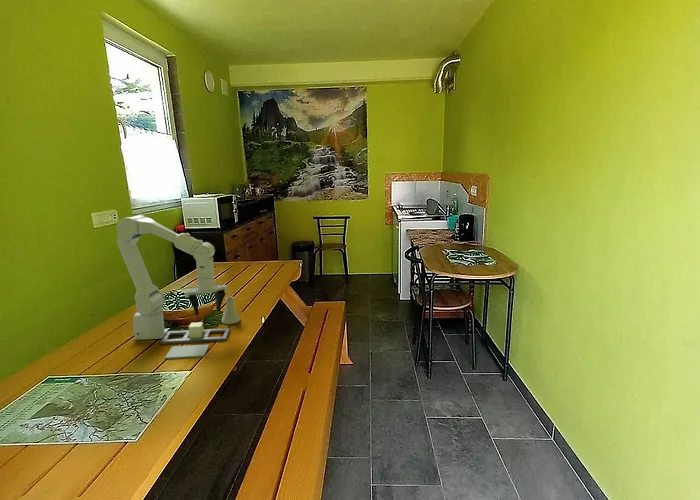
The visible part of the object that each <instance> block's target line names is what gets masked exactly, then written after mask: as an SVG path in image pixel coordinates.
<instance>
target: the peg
mask: <svg viewBox="0 0 700 500" xmlns="http://www.w3.org/2000/svg"><path fill="white" fill-rule="evenodd" d="M203 329H204V322H203V321H200V322H190V324H189V326H188V330H189V338H202V337H203V336H204V332H203Z"/></svg>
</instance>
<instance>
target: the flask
mask: <svg viewBox="0 0 700 500" xmlns="http://www.w3.org/2000/svg"><path fill="white" fill-rule="evenodd" d="M224 299H225V302H226V303H225V304H226V305H225V308H224V312H223V315H222V318H221V321H220V322H221V324H224V325H233V324H236V323H237V324H238V323H239V322H240V321H241V320H242V319H241V317H240V315H239V313H238V311H237V308H236V305H235V301H234V300H235V297H234V296H228V297H224Z"/></svg>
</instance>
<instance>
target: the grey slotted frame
mask: <svg viewBox="0 0 700 500" xmlns="http://www.w3.org/2000/svg"><path fill="white" fill-rule="evenodd" d="M230 331H231V330H230V327H227V328H208V329H205V328H203V332H204V335H203V337H202V338H189V329H184V330H182V329H181V330H168V331H167V332H166V334H165V335H164V336H163V337H162V338H161V340H160V342H159V343H160V345H172V344H173V345H174V344H190V343H210V342H226V341H227V338H228V337H229V334H230ZM211 334H223V336H210V335H211ZM171 336H182V337H181V338H170V337H171Z"/></svg>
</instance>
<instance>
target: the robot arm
mask: <svg viewBox="0 0 700 500" xmlns="http://www.w3.org/2000/svg"><path fill="white" fill-rule="evenodd" d="M115 229H116V231H117V236H116V244H117V247H118V250H119V252H120V254H121V257H122V259H123V261H124V265H125V266H126V268H127V272H128V273H129V276H130V278H131V279H132V282H133V284H134V288H135V290H136V291H135V294H134V300H135V309H136V312H135V313H134V315H133V318H132V326H133V334H134V338H133V340H135V341H136V340H155V339H159V340H160V339H163V338H164V336H165V335H166V334H167V332H168V331H169V328H165V319H164V312H163V311H164V310H163V305H164V304H165V302H166V297H165V295H164V294H163V292H161V290H160V289H159V287H158V286H156V285H155V284H153V281H152V279H151V277H150V274H149V272H148V269H147V267H146V264H145V262H144V260H143V257H142V255H141V253H140V250H139V247H138V245H137V243H138V242H139V240H140V238H141V236H143V235H144V234H152V235H155V236H157V237H159V238H162V239H164V240H167V241H169V242H172V243H173V245H174V247H175V248H176V249H178V250H181V251H182V252H185V253H187V254H189V255H191V256H192V257H193V258H194V260H195V263H196V264H195V265H196V279H197V280H196V281H197V283H196V284H197V287H195V288H192V289H188V290H184V291H183V292H184V297H185V298H186V299H187V298H188V299H189V301H190V303H191V305H192V308H193V311H194V315H195V316H199V299H198V297H197V296H200V295H201V296H202V295H206V294H212V293H214V295H215V302H216V304H215V305H216V306H215V307H216V311H217V312H221V307H222V304H223V300H224V299H225V298H226V297H225V296H226V292H228V285H226V284H222V285H217V284H216V285H215V283H216V282H215V271H214V270H215V269H214V268H215V265H214V257H213V256H214V255H215V252H216V249H215V246H214V245H213V244H212V243H210V242H209V241H205V242H204V241H203V240H202V239H197V238H195V237H193V236H191V234H190V233H188V232H186V233H185V232H181V233H177V232H175V231H173V230H171V229H170V228H168V227H166V226H165V225H162V224H161V223H158V222H157V221H156V220H154V219H152V217H151V218H150V217H147V216H145V215H143V214H138V215H133V216H131V217H130V216H129V217H123V218H121V219H120V220H119V221H118V223H117V225H116V227H115Z"/></svg>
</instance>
